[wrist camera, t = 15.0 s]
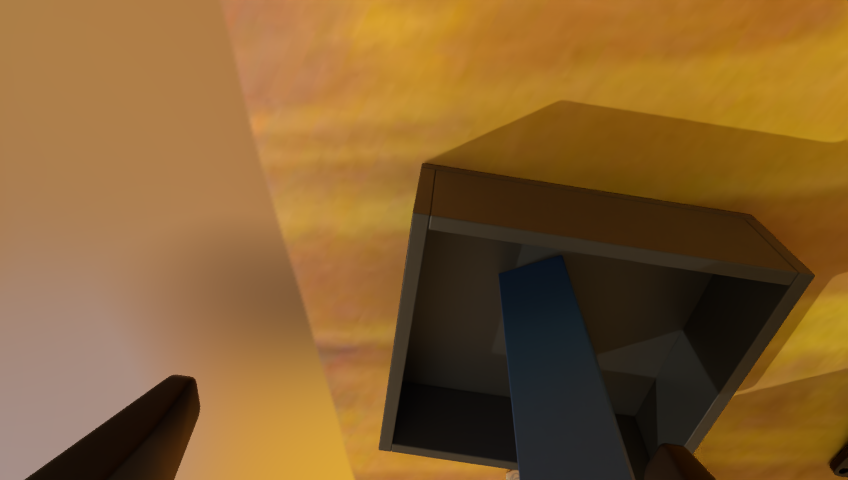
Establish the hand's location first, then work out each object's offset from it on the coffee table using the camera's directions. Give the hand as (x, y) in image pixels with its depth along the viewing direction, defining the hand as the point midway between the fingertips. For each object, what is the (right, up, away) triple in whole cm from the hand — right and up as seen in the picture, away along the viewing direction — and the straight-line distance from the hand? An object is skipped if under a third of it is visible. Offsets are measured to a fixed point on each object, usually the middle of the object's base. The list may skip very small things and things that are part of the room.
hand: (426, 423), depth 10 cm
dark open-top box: (+6, 0, +15) cm, 16 cm away
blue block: (+6, 0, +14) cm, 16 cm away
